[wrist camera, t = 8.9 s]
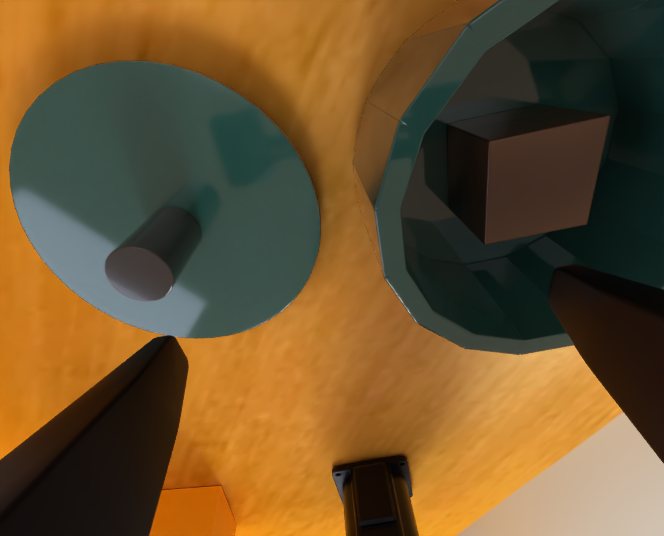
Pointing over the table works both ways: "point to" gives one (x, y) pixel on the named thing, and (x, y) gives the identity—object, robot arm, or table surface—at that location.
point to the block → (524, 170)
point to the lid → (165, 199)
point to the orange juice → (193, 513)
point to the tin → (498, 96)
